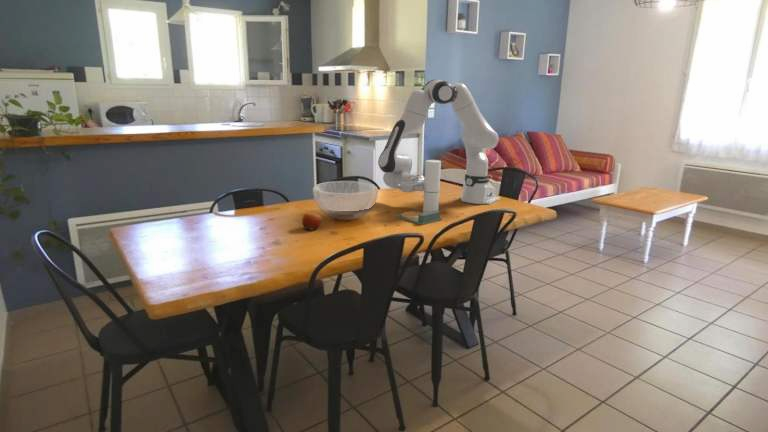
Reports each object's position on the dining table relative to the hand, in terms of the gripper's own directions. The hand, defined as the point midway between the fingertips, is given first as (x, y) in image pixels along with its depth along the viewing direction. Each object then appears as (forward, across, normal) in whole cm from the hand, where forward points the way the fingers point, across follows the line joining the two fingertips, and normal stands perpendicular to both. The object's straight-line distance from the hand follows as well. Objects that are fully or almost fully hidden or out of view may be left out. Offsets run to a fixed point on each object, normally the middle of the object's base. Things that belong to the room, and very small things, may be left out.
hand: (429, 188), depth 217 cm
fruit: (-13, -58, +12) cm, 61 cm away
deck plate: (+4, -12, +12) cm, 17 cm away
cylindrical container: (+1, 0, +12) cm, 12 cm away
